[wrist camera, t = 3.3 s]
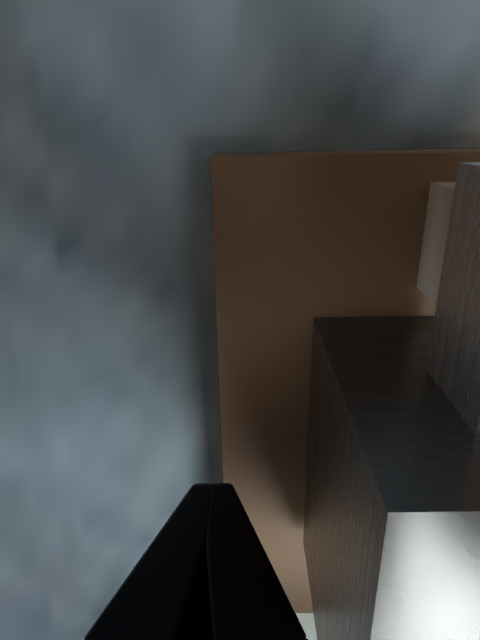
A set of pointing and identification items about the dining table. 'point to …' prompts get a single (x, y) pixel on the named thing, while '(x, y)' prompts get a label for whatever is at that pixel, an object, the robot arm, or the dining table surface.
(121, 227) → the dining table surface
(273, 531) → the gauge base
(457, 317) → the grey block with rod
